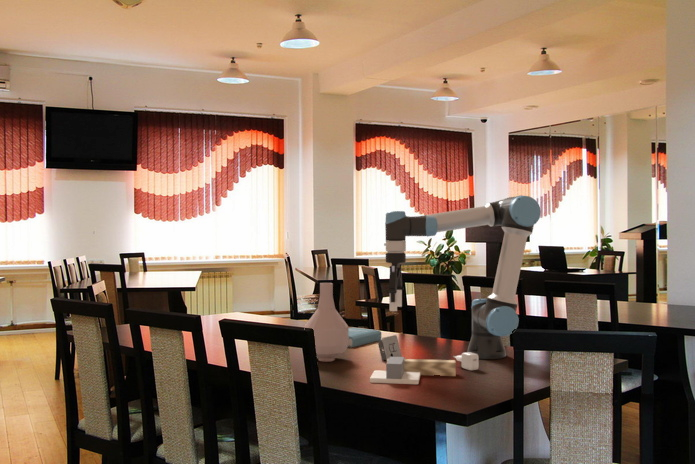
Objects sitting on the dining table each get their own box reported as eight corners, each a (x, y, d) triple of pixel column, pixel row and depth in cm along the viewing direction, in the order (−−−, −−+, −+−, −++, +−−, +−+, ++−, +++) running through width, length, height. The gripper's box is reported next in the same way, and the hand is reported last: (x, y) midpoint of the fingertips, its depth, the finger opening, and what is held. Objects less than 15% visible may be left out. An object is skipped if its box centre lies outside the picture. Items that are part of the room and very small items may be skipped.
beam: (455, 374, 228) (455, 360, 228) (455, 376, 224) (455, 362, 224) (387, 372, 231) (387, 358, 231) (386, 375, 227) (386, 360, 227)
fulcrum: (420, 376, 224) (420, 357, 224) (418, 384, 212) (418, 364, 212) (374, 374, 227) (374, 356, 227) (369, 382, 215) (369, 363, 215)
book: (352, 337, 307) (352, 327, 306) (381, 341, 297) (381, 330, 297) (323, 344, 288) (323, 333, 288) (353, 348, 279) (353, 337, 279)
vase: (358, 359, 253) (358, 283, 253) (326, 366, 240) (326, 286, 240) (326, 353, 265) (326, 280, 265) (294, 360, 252) (294, 283, 252)
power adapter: (450, 365, 241) (450, 350, 241) (461, 364, 244) (461, 348, 244) (469, 371, 232) (469, 355, 232) (480, 370, 234) (480, 353, 234)
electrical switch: (388, 362, 248) (386, 337, 249) (377, 361, 251) (375, 337, 252) (402, 358, 255) (400, 334, 256) (391, 358, 259) (389, 334, 259)
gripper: (390, 251, 255) (390, 304, 255) (380, 253, 230) (380, 312, 231) (409, 251, 253) (409, 305, 253) (401, 253, 229) (401, 313, 229)
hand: (395, 308), depth 242 cm, fingers open, 13 cm apart
